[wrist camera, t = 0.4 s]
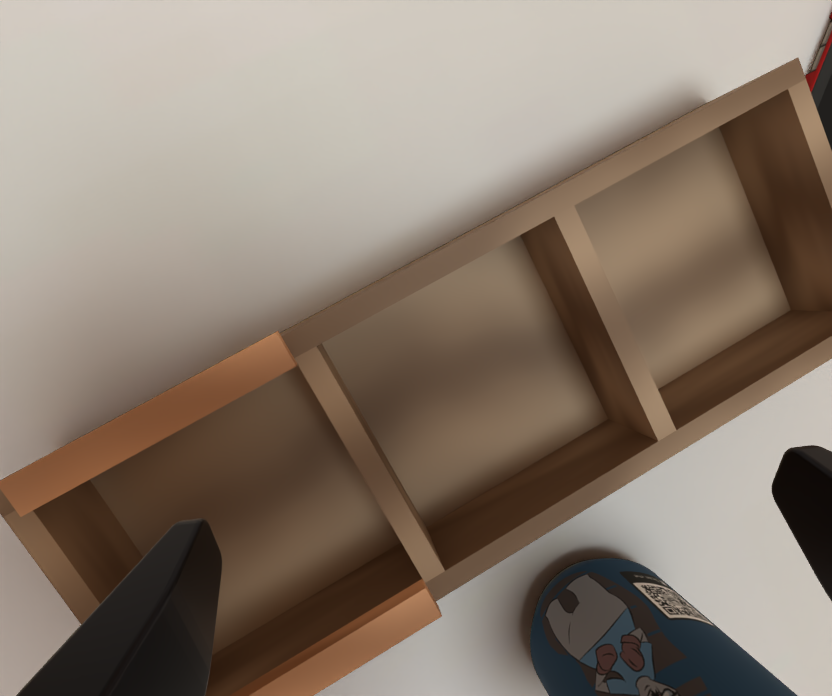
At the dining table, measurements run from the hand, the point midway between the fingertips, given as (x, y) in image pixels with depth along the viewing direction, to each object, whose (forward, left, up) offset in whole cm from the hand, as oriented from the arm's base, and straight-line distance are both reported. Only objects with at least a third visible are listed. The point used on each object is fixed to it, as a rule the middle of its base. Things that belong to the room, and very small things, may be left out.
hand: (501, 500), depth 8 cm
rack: (-2, -3, -14) cm, 14 cm away
